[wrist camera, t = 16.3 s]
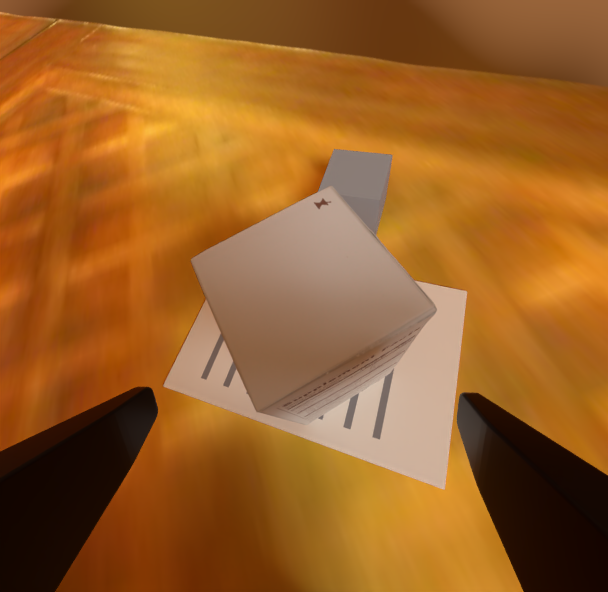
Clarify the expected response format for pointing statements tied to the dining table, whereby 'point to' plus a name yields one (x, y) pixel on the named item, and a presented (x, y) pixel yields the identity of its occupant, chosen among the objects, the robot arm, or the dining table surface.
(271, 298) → the supplement box
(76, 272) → the dining table surface
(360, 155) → the cube
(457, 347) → the letter
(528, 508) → the robot arm
